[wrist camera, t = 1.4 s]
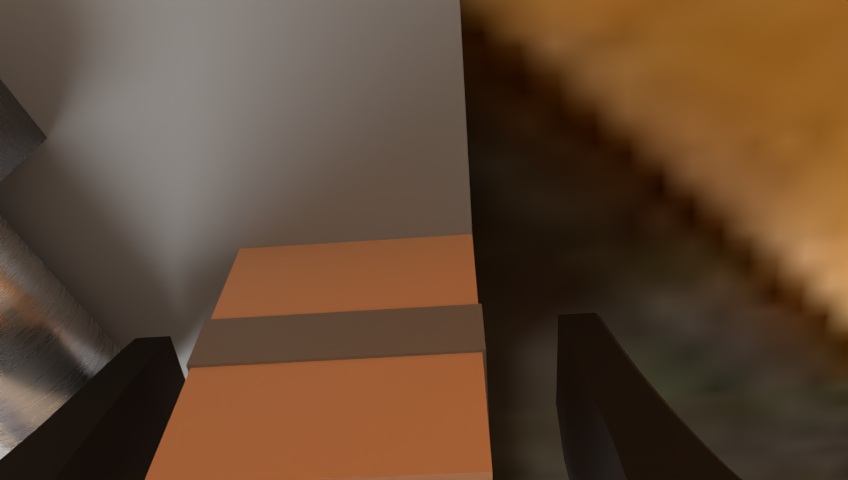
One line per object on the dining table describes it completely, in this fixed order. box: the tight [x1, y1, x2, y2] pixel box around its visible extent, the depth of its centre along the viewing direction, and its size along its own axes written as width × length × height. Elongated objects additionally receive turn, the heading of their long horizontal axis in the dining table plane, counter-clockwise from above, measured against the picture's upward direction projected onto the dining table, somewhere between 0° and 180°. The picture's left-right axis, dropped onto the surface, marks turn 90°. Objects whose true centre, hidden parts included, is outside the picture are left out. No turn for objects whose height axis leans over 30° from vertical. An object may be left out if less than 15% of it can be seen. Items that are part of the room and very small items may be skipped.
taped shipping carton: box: [145, 234, 493, 480], centre depth 11 cm, size 4×4×5 cm
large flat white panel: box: [0, 0, 472, 459], centre depth 16 cm, size 22×14×1 cm, turn 5°
